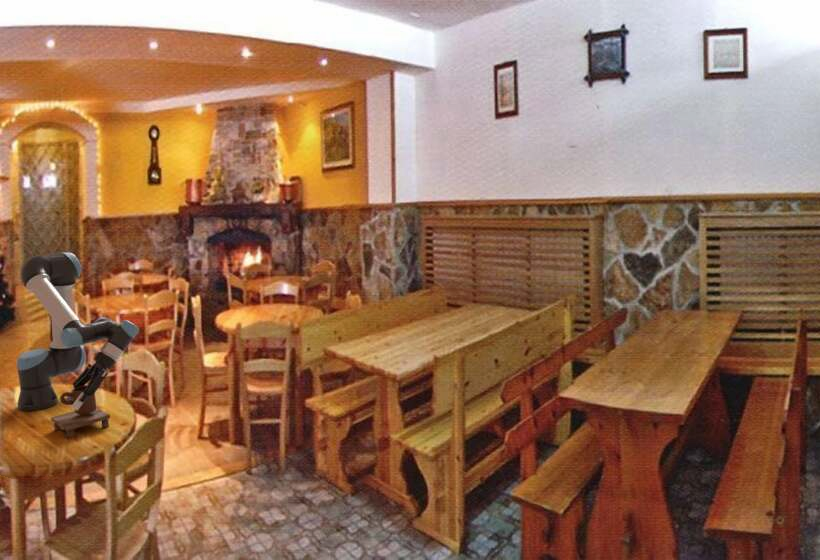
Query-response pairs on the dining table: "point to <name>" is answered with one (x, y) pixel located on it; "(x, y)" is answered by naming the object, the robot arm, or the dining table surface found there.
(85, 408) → the mug
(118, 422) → the dining table surface
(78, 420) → the brown wooden bench
